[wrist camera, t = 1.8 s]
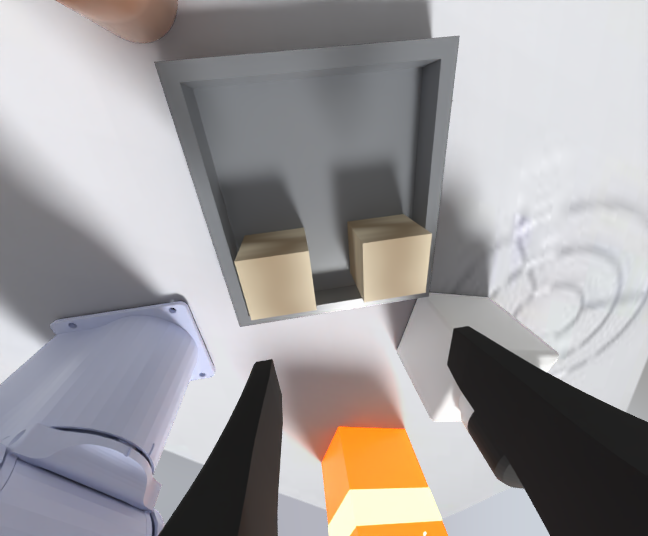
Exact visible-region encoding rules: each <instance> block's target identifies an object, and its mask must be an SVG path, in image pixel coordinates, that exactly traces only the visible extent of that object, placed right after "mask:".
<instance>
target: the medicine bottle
mask: <svg viewBox="0 0 648 536" xmlns="http://www.w3.org/2000/svg"><path fill="white" fill-rule="evenodd" d="M465 326H469V327H471V328H473V329H474V330H476V331H478V332H480V333H481V334H483V335H485V336H486V337H488V338H489V339H491V340H493V341H494V342H496V343H498V344H499V345H501V346H503V347H504V348H506V349H508V350H509V351H511V352H513V353H514V354H516V355H518V356H519V357H521V358H523V359H524V360H526V361H528V362H529V363H531V364H533V365H535V366H536V367H538V368H540V369H542V370H543V371H545V372H548V371H549V370H550V369H551V367H552V366H553V365H554V363H555V362H556V361H557V359H558V358H559V354H558V353H557V351H556V350H554V349H553V348H552V347H551V346H549V345H548V344H547V343H546V342H544V341H543V340H542V339H541V338H539V337H538V336H537V335H536V334H534V333H533V332H532V331H531V330H529V329H528V328H527V327H526V326H524V325H523V324H522V323H521V322H519V321H518V320H517V319H516V318H514V317H513V316H512V315H511V314H510V313H508V312H507V311H506V310H505V309H503V308H502V307H501V306H500V305H498V304H497V303H496V302H495V301H493V300H492V299H491V298H489V297H480V296H468V295H455V294H443V293H431V292H429V297H423V298H417V301H416V304H415V306H414V309H413V311H412V314H411V316H410V319H409V321H408V324H407V326H406V329H405V332H404V334H403V337H402V339H401V342H400V344H399V347H398V349H397V354H398V356H399V358H400V360H401V362H402V364H403V366H404V367H405V369H406V371H407V373H408V375H409V377H410V379H411V381H412V383H413V385H414V387H415V389H416V391H417V393H418V395H419V397H420V399H421V401H422V403H423V405H424V407H425V409H426V411H427V413H428V415H429V417H430V418H431V419H432V421H435V422H447V421H462V422H463V424H464V425H465V427H466V429H467V430H468V432H469V434H470V435H471V437H472V439H473V440H474V442H475V443H476V445H477V447H478V448H479V450H480V452H481V453H482V455H483V456H484V458H485V460H486V461H487V463H488V465H489V466H490V468H491V470H492V471H493V473H494V474H495V476H496V477H497V479H498V480H500V481H501V482H503V483H505V484H506V485H508V486H511V487H515V488H524V487H523V485H522V484H521V482H520V480H519V478H518V477H517V475H516V473H515V471H514V470H513V468H512V466H511V464H510V463H509V461H508V460H507V458H506V456H505V455H504V453H503V452H502V450H501V449H500V447H499V446H498V444H497V443H496V441H495V440H494V439H493V437H492V436H491V434H490V433H489V431H488V430H487V428H486V427H485V425H484V424H483V423H482V421H481V420H480V418H479V417H478V415H477V414H476V412H475V411H474V410H473V408H472V407H471V405H470V404H469V402H468V401H467V399H466V398H465V396H464V395H463V393H462V392H461V390H460V389H459V387H458V385H457V383H456V381H455V379H454V378H453V376H452V374H451V372H450V370H449V368H448V366H447V361H448V356H449V350H450V345H451V340H452V334H453V329H454V328H459V327H465Z"/></svg>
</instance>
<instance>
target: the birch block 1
mask: <svg viewBox="0 0 648 536" xmlns="http://www.w3.org/2000/svg"><path fill="white" fill-rule="evenodd" d="M234 262H235V266H236V269H237V273H238V276H239V280H240V283H241V286H242V290H243V293H244V297H245V300H246V304H247V307H248V310H249V314H250V317H251V320H257V319H263V318H269V317H276V316H282V315H288V314H294V313H301V312H307V311H313V310H317V308H316V301H315V294H314V286H313V279H312V271H311V264H310V257H309V250H308V245H307V240H306V235H305V230H304V228H296V229H289V230H282V231H274V232H267V233H259V234H252V235H245V236H244V238H243V241H242V243H241V246H240V249H239V251H238V254H237V256H236V259H235V261H234Z"/></svg>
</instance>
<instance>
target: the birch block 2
mask: <svg viewBox="0 0 648 536" xmlns="http://www.w3.org/2000/svg"><path fill="white" fill-rule="evenodd" d="M347 224H348V243H349V261H350V273H351V275H352V277H353V279H354V282H355V284H356V286H357V288H358V290H359V292H360V294H361V297H362V299H363V301H364V302H370V301H376V300H382V299H389V298H395V297H401V296H408V295H414V294H420V293H426V284H427V275H428V266H429V257H430V247H431V238H432V233H430V232H429V231H428V230H426V229H425V228H423V227H422V226H420V225H419V224H417V223H416V222H414V221H413V220H411V219H410V218H409V217H407V216H406V215H404V214H400V215H392V216H385V217H378V218H370V219H363V220H355V221H348V222H347Z"/></svg>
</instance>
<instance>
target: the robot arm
mask: <svg viewBox="0 0 648 536" xmlns="http://www.w3.org/2000/svg"><path fill="white" fill-rule="evenodd" d="M171 308H175V309H176V310H172V309H171ZM75 324H76V325H75ZM50 327H51V329H52V330H53V332H54V333H55V334H56V336H55V337H54V338H52V339H51V340H50V341H49V342H48V343H47V344H46V345H44V346H43V347H42V348H41V349H40V350H39V351H38V352H37V353H35V354H34V355H33V356H32V357H31V358H30V359H29V360H27V361H26V362H25V363H24V364H23V365H22V366H21V367H19V368H18V369H17V370H16V371H15V372H14V373H13V374H12V375H10V376H9V377H8V378H7V379H6V380H5V381H4V382H2V383H1V384H0V536H278V533H277V532H278V530H277V529H278V528H277V507H278V487H279V472H280V457H281V442H282V426H283V417H282V394H281V390H280V386H279V382H278V379H277V375H276V371H275V367H274V364H273V360H272V359H271V360H266V361H260V362H256V363H255V364H254V366H253V368H252V371H251V374H250V376H249V378H248V381H247V383H246V385H245V388H244V390H243V392H242V394H241V397H240V399H239V401H238V403H237V405H236V407H235V409H234V411H233V413H232V415H231V417H230V419H229V421H228V423H227V425H226V427H225V429H224V431H223V432H222V434H221V436H220V438H219V440H218V442H217V443H216V445H215V447H214V449H213V451H212V453H211V454H210V456H209V458H208V459H207V461H206V463H205V464H204V466H203V468H202V469H201V471H200V473H199V474H198V476H197V478H196V479H195V481H194V482H193V484H192V486H191V487H190V489H189V490H188V492H187V493H186V495H185V497H184V498H183V499H182V501H181V502H180V504H179V506H178V507H177V509H176V510H175V511H174V513H173V514H172V516H171V518H170V519H169V520H168V522H167V523H166V525H164V521H163V518H162V516H161V514H160V512H159V511H157V510H156V509H155V508H154V506H155V503H156V500H157V497H158V494H159V491H160V489H161V484H160V483H159V482H157V481H156V480H155V479H154V478H153V474H154V472H155V469H156V467H157V464H158V462H159V459H160V456H161V454H162V451H163V449H164V446H165V443H166V441H167V438H168V436H169V433H170V431H171V428H172V425H173V423H174V420H175V418H176V415H177V412H178V410H179V407H180V405H181V402H182V399H183V397H184V394H185V392H186V389H187V386H188V384H189V381H192V380H197V379H203V378H209V377H212V376H214V374H215V368H214V366H213V364H212V361H211V359H210V357H209V354H208V352H207V350H206V347H205V345H204V343H203V340H202V338H201V335H200V333H199V331H198V328H197V326H196V324H195V321H194V319H193V317H192V314H191V312H190V310H189V307H188V305H187V304H186V303H185V302H182V301H177V302H171V303H164V304H158V305H151V306H144V307H138V308H131V309H124V310H118V311H111V312H104V313H98V314H91V315H85V316H78V317H71V318H65V319H58V320H55V321H54V322H53V323H52V324H51V325H50ZM447 366H448V368H449V370H450V372H451V374H452V376H453V378H454V379H455V381H456V383H457V385H458V387H459V389H460V390H461V392H462V393H463V395H464V396H465V398H466V399H467V401H468V402H469V404H470V405H471V407H472V408H473V410H474V411H475V412H476V414H477V415H478V417H479V418H480V420H481V421H482V423H483V424H484V425H485V427H486V428H487V430H488V431H489V433H490V434H491V436H492V437H493V439H494V440H495V441H496V443H497V444H498V446H499V447H500V449H501V450H502V452H503V453H504V455H505V456H506V458H507V460H508V461H509V463H510V464H511V466H512V468H513V470H514V471H515V473H516V475H517V477H518V478H519V480H520V482H521V484H522V485H523V487H524V489H525V490H526V492H527V494H528V496H529V498H530V499H531V501H532V503H533V505H534V507H535V508H536V510H537V512H538V514H539V516H540V517H541V519H542V521H543V523H544V525H545V527H546V528H547V530H548V532H549V534H550V536H648V422H646V421H644V420H642V419H639V418H637V417H635V416H633V415H630V414H628V413H626V412H624V411H622V410H620V409H617V408H615V407H613V406H611V405H609V404H607V403H605V402H603V401H601V400H599V399H597V398H595V397H593V396H591V395H588V394H586V393H584V392H582V391H581V390H579V389H577V388H575V387H573V386H571V385H569V384H567V383H565V382H563V381H562V380H560V379H558V378H556V377H554V376H552V375H551V374H549V373H547V372H545V371H543V370H542V369H540V368H538V367H536V366H535V365H533V364H531V363H529V362H528V361H526V360H524V359H523V358H521V357H519V356H518V355H516V354H514V353H513V352H511V351H509V350H508V349H506V348H504V347H503V346H501V345H499V344H498V343H496V342H494V341H493V340H491V339H489V338H488V337H486V336H485V335H483V334H481V333H480V332H478V331H476V330H474V329H473V328H471V327H469V326H465V327H459V328H454V329H453V334H452V340H451V345H450V350H449V356H448V361H447Z"/></svg>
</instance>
